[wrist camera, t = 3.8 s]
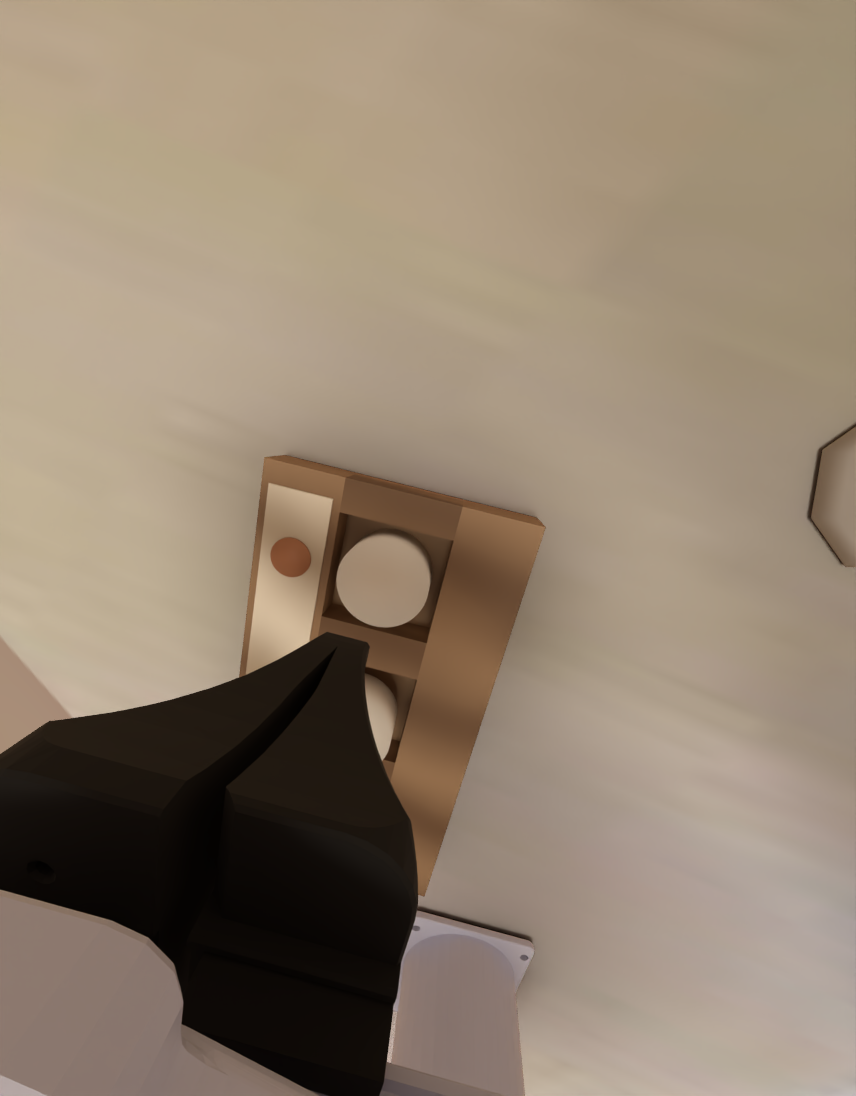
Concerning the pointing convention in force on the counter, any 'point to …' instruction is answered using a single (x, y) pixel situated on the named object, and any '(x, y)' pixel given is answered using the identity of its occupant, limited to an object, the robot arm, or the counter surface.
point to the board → (411, 648)
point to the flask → (838, 497)
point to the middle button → (380, 712)
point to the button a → (385, 578)
